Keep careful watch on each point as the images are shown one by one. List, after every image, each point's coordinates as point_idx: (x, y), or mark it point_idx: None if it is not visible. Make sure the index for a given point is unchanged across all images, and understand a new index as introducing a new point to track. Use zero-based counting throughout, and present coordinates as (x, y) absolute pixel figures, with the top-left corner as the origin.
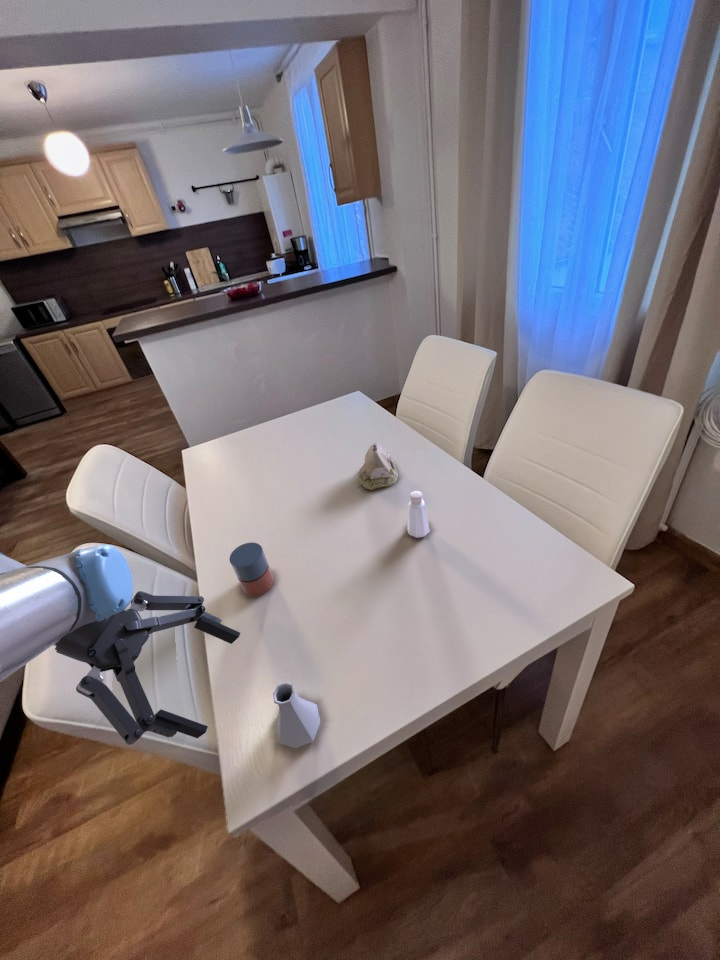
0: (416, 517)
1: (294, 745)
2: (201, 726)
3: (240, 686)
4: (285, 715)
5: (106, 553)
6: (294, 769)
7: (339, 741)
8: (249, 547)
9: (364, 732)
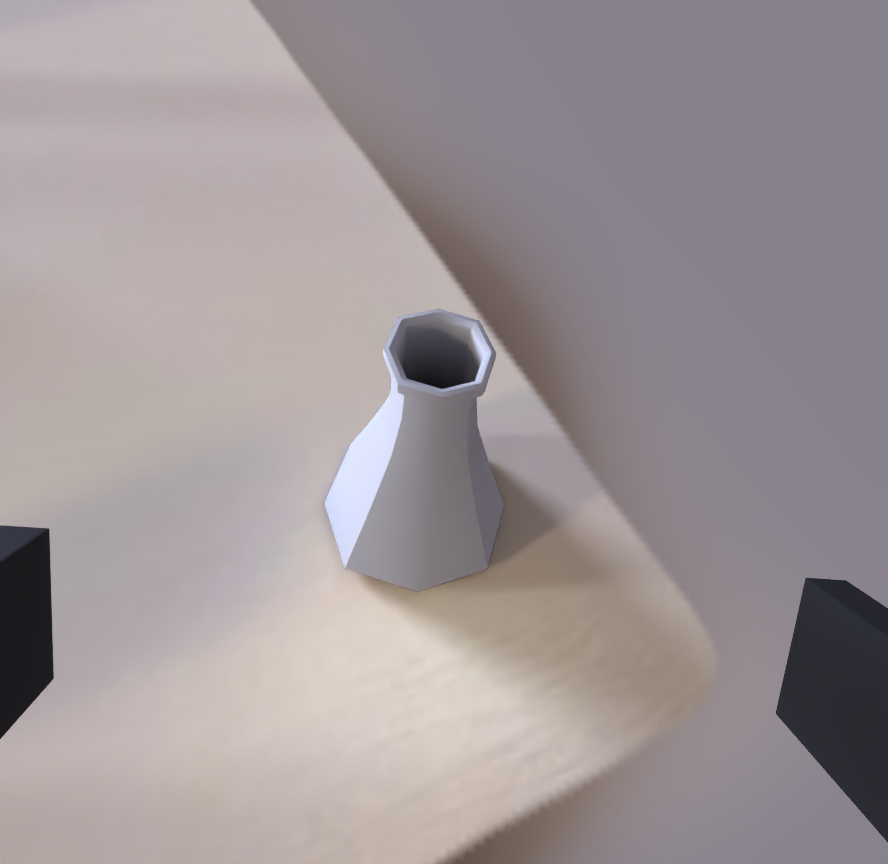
0: None
1: (501, 499)
2: (850, 598)
3: (202, 847)
4: (474, 432)
5: None
6: (564, 505)
7: None
8: None
9: None
